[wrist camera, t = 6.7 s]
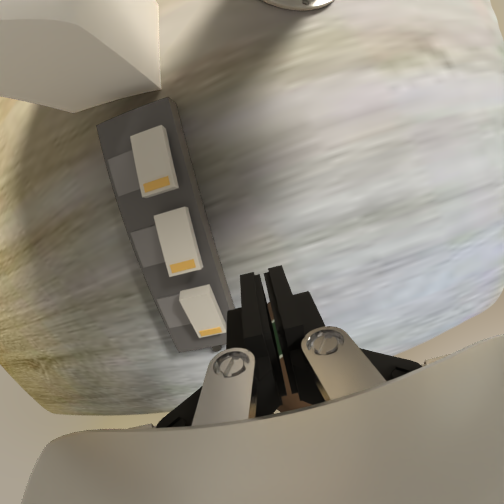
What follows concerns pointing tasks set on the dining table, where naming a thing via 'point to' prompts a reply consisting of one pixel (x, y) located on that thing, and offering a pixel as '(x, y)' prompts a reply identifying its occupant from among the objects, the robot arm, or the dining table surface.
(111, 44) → the milk
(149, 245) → the power strip
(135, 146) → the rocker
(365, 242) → the dining table surface
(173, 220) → the rocker mid
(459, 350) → the robot arm
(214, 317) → the rocker
